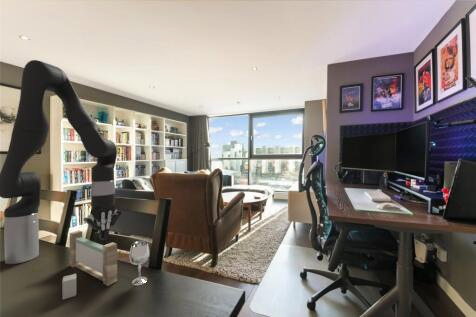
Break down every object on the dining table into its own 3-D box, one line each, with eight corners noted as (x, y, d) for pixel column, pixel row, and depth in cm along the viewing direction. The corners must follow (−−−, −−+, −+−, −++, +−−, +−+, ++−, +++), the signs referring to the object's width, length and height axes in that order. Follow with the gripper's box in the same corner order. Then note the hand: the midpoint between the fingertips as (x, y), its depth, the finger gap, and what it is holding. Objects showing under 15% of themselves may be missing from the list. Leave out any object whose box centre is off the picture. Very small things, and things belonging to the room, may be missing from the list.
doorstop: (76, 290, 63) (76, 273, 63) (76, 295, 61) (75, 278, 61) (63, 293, 62) (63, 276, 61) (62, 299, 59) (62, 281, 59)
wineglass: (141, 287, 65) (141, 248, 64) (125, 285, 66) (125, 247, 65) (153, 277, 70) (153, 241, 70) (137, 275, 71) (137, 239, 71)
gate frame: (69, 265, 77) (69, 232, 77) (79, 262, 80) (79, 230, 79) (107, 286, 65) (107, 247, 65) (117, 280, 68) (117, 243, 68)
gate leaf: (110, 273, 69) (110, 248, 69) (104, 276, 67) (104, 250, 67) (81, 259, 78) (81, 237, 78) (75, 262, 76) (75, 238, 76)
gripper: (115, 189, 86) (115, 231, 87) (77, 194, 75) (78, 243, 75) (126, 191, 83) (127, 235, 83) (89, 196, 71) (89, 248, 71)
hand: (104, 239), depth 79 cm, fingers closed
